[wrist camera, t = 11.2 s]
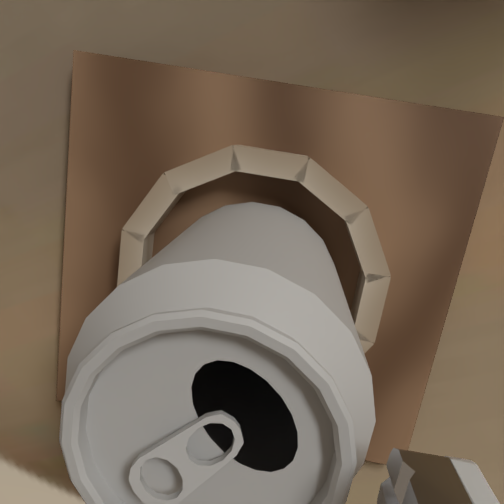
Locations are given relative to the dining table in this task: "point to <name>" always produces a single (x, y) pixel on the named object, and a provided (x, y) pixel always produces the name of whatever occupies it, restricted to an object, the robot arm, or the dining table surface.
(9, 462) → the dining table surface
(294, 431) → the can
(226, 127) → the seat board
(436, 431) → the dining table surface
